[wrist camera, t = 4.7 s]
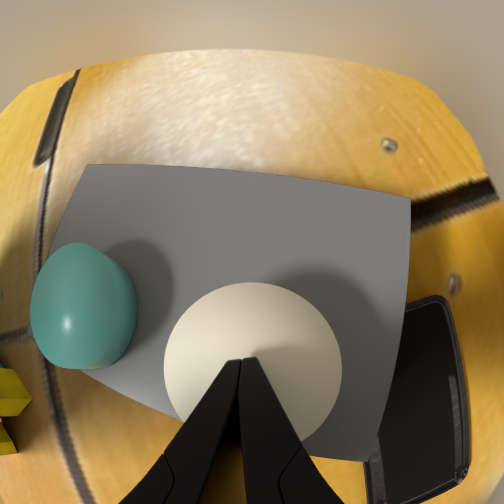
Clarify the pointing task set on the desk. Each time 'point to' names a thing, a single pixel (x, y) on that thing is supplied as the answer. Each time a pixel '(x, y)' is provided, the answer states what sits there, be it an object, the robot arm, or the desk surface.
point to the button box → (252, 271)
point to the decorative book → (10, 404)
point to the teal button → (82, 308)
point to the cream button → (257, 350)
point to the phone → (422, 412)
